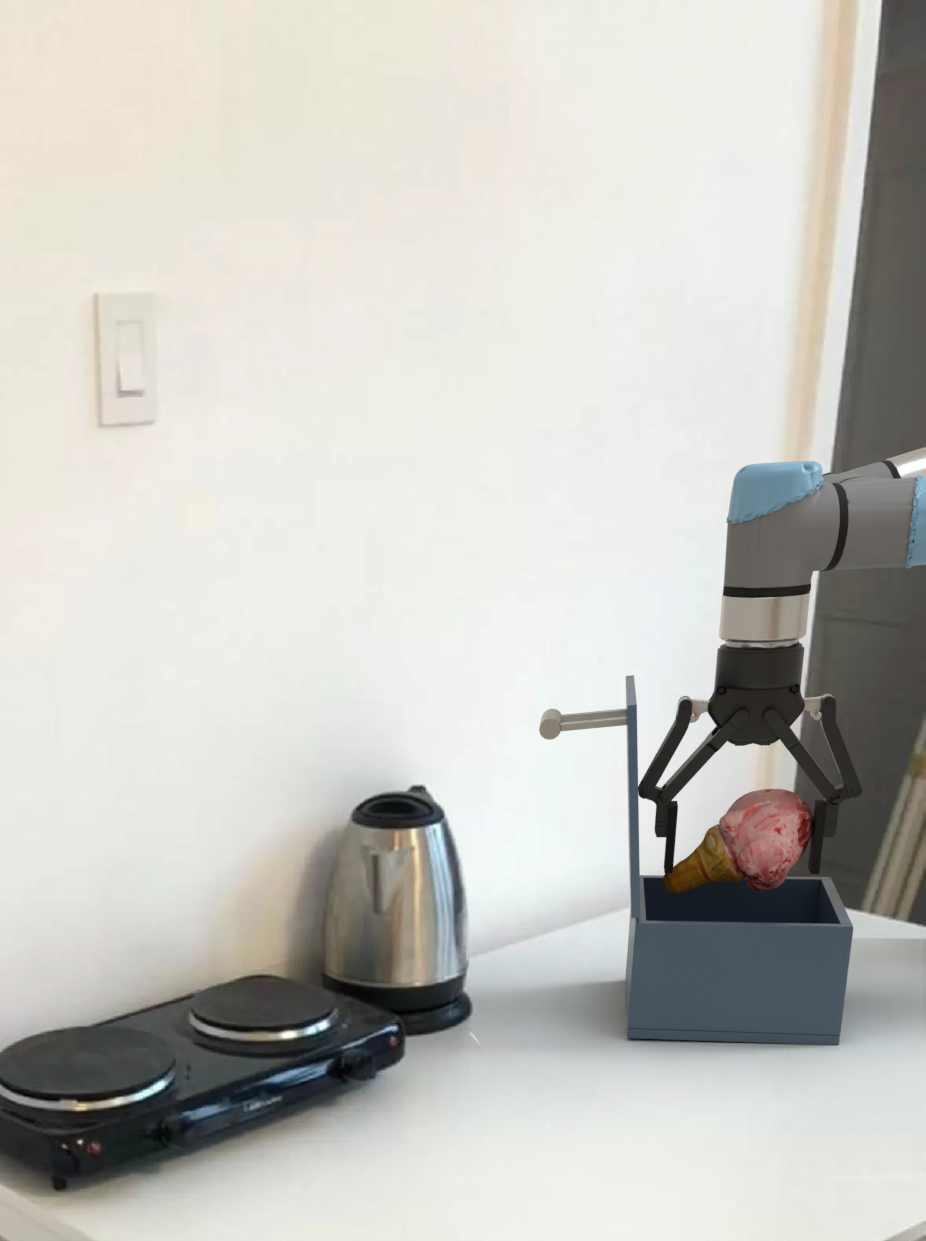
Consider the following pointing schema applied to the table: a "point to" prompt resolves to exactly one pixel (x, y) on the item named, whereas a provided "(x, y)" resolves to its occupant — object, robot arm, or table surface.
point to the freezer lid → (556, 722)
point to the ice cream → (749, 843)
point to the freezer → (738, 963)
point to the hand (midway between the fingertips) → (740, 870)
